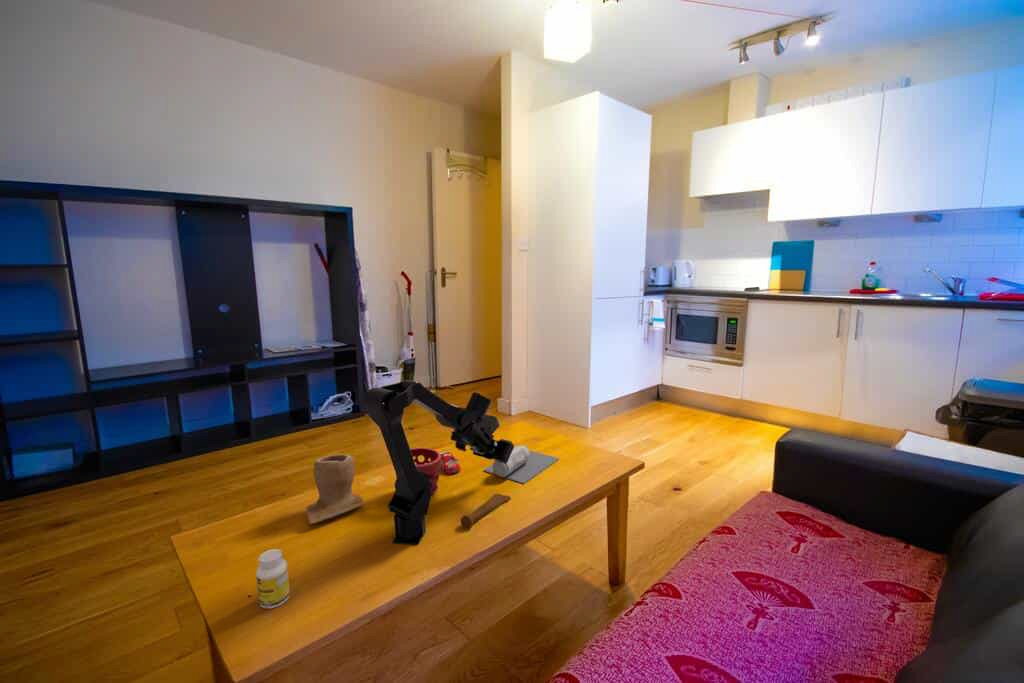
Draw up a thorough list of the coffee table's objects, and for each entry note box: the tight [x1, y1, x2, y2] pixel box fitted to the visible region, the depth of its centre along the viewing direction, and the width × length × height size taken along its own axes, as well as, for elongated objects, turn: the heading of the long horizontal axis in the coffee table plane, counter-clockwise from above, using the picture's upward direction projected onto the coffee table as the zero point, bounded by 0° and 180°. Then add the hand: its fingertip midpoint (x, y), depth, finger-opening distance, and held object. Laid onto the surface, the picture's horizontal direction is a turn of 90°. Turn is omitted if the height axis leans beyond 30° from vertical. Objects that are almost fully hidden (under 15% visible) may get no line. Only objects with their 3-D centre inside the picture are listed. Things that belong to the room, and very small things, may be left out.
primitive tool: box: [460, 493, 512, 530], centre depth 120 cm, size 19×6×4 cm, turn 152°
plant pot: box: [395, 447, 442, 498], centre depth 129 cm, size 13×13×12 cm
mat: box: [482, 449, 560, 485], centre depth 149 cm, size 22×16×1 cm
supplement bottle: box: [255, 548, 291, 609], centre depth 87 cm, size 5×5×10 cm
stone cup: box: [305, 453, 364, 525], centre depth 120 cm, size 15×12×15 cm
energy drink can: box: [492, 445, 530, 478], centre depth 144 cm, size 6×6×15 cm
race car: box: [439, 451, 461, 475], centre depth 148 cm, size 13×5×4 cm, turn 22°
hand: (496, 457), depth 136 cm, fingers closed
